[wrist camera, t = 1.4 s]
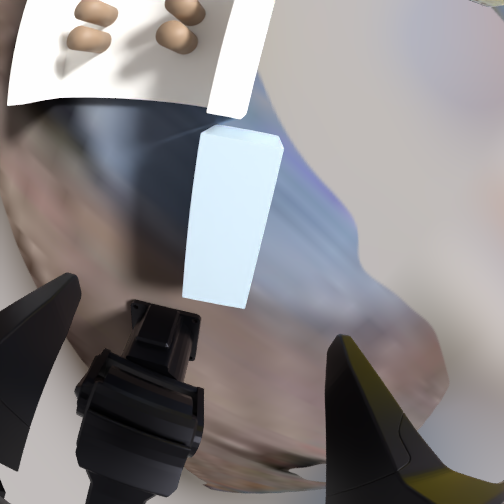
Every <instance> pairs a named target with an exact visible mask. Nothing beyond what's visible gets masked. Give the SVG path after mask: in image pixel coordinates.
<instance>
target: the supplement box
mask: <svg viewBox="0 0 504 504" xmlns="http://www.w3.org/2000/svg"><path fill="white" fill-rule="evenodd" d="M470 1H473V2H476V3H478V4H481V5H484V6H486V7H494V6H502V5H504V0H470Z"/></svg>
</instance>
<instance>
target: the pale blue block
mask: <svg viewBox="0 0 504 504" xmlns="http://www.w3.org/2000/svg"><path fill="white" fill-rule="evenodd" d="M283 151H284V148H283V145H282V143H281V141H280V139H279V136H276V135H271V134H267V133H262V132H257V131H252V130H247V129H241V128H236V127H230V126H224V125H217V124H216V125H214V126H212V127H211V128H209V129H207V130H205V131H204V132H202V133H201V135H200V141H199V148H198V154H197V161H196V168H195V175H194V183H193V190H192V198H191V207H190V215H189V225H188V234H187V244H186V255H185V267H184V280H183V294H182V297H184V298H189V299H194V300H199V301H204V302H210V303H215V304H220V305H226V306H231V307H237V308H243V309H245V306H246V302H247V298H248V294H249V290H250V286H251V282H252V278H253V274H254V270H255V266H256V262H257V258H258V254H259V250H260V245H261V241H262V237H263V233H264V229H265V225H266V221H267V217H268V213H269V209H270V205H271V200H272V196H273V192H274V188H275V184H276V180H277V176H278V171H279V167H280V163H281V159H282V155H283Z"/></svg>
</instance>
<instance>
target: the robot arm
mask: <svg viewBox="0 0 504 504" xmlns="http://www.w3.org/2000/svg"><path fill="white" fill-rule="evenodd" d="M80 299H81V289H80V284H79V280H78V277H77V276H76V275H74V274H71V273H65V274H63V275H61V276H59V277H57V278H56V279H54V280H52V281H50V282H49V283H47V284H45V285H43V286H42V287H40V288H38V289H36V290H35V291H33V292H31V293H29V294H28V295H26V296H24V297H23V298H21V299H19V300H18V301H16V302H14V303H13V304H11V305H9V306H8V307H6V308H5V309H3V310H1V311H0V463H1V464H3V465H5V466H7V467H9V468H11V469H13V470H15V471H18V469H19V465H20V461H21V457H22V453H23V450H24V446H25V443H26V439H27V436H28V433H29V429H30V426H31V422H32V420H33V417H34V413H35V411H36V408H37V405H38V402H39V399H40V397H41V394H42V391H43V389H44V386H45V384H46V381H47V379H48V376H49V374H50V371H51V369H52V367H53V364H54V362H55V360H56V358H57V355H58V353H59V350H60V349H61V346H62V344H63V342H64V340H65V338H66V336H67V333H68V331H69V328H70V325H71V322H72V320H73V317H74V314H75V312H76V309H77V307H78V304H79V301H80ZM136 305H137V306H136ZM131 315H132V327H133V331H132V334H131V336H130V338H129V340H128V343H127V345H126V347H125V350H124V352H123V354H122V357H120V356H118V355H116V354H114V353H112V352H111V351H110V350H108V349H106V348H105V349H104V350H103V352H102V354H101V355H100V354H99V355H98V356H95V358H94V360H93V362H92V364H91V367H90V368H89V370H88V372H87V373H86V374H85V376H84V377H83V378H82V379H81V381H80V382H79V383H78V384H77V386H76V388H75V391H74V392H75V394H76V397H77V399H78V400H77V412H76V413H77V415H79V416H81V417H83V420H82V423H81V427H80V431H79V434H78V438H77V448H76V457H77V461H78V464H79V466H80V467H82V468H84V469H86V472H87V474H88V477H89V479H90V482H91V483H90V486H89V490H88V495H87V499H86V503H85V504H145V503H146V501H148V500H149V499H151V498H153V497H154V496H156V495H159V496H163V497H168V496H170V495H171V494H172V493H173V492H174V491H175V490H176V489H177V487H178V483H179V479H180V476H181V472H182V470H183V467H184V464H185V462H186V459H187V457H192V456H193V455H194V454H195V453H196V451H197V449H198V447H199V444H200V441H201V438H202V434H203V428H204V389H203V388H200V387H194V386H192V385H189V384H186V383H184V378H185V374H186V370H187V365H188V361H194V360H195V357H196V350H197V343H198V336H199V329H200V323H201V317H200V316H199V315H197V314H193V313H189V312H184V311H180V310H176V309H171V308H167V307H163V306H159V305H155V304H151V303H147V302H143V301H139V300H133V301H132V303H131ZM194 319H196V320H194ZM325 416H326V504H504V481H502V482H500V483H497V484H496V483H490V482H486V481H483V480H480V479H477V478H473V477H470V476H467V475H464V474H461V473H458V472H455V471H453V470H451V469H450V468H448V467H447V466H446V465H444V464H443V463H442V462H441V460H440V459H439V458H438V457H437V455H436V454H435V453H434V452H433V451H432V449H431V448H430V447H429V446H428V444H426V442H425V441H424V439H423V438H422V437H421V436H420V434H419V433H418V432H417V430H416V429H415V428H414V426H413V425H412V423H411V422H410V421H409V419H408V418H407V416H406V415H405V413H403V410H402V409H401V407H400V406H399V405H398V403H397V402H396V400H395V399H394V397H393V396H392V394H391V393H390V391H389V390H388V389H387V387H386V386H385V384H384V383H383V381H382V380H381V378H380V377H379V376H378V374H377V373H376V371H375V370H374V369H373V367H372V366H371V364H370V363H369V361H368V360H367V359H366V357H365V356H364V354H363V353H362V352H361V350H360V349H359V347H358V346H357V345H356V343H355V342H354V340H353V339H352V338H351V337H350V336H349V335H343V334H339V335H337V336H336V338H335V339H334V341H333V342H332V344H331V345H330V347H329V348H328V351H327V363H326V380H325ZM5 493H6V492H5V490H4V488H3V485H2V483H1V480H0V504H10V503H9V502H7V501H6V500H5V499H4V496H5Z"/></svg>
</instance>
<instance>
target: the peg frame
mask: <svg viewBox="0 0 504 504" xmlns="http://www.w3.org/2000/svg"><path fill="white" fill-rule="evenodd" d="M275 1H276V0H27V4H26V7H25V10H24V13H23V17H22V20H21V24H20V28H19V32H18V36H17V41H16V45H15V50H14V55H13V61H12V67H11V74H10V81H9V90H8V100H7V106H11V105H22V104H27V103H32V102H37V101H43V100H49V99H55V98H71V97H97V98H124V99H140V100H152V101H162V102H171V103H179V104H187V105H194V106H201V107H207V113H209V114H215V115H221V116H226V117H232V118H237V119H241V118H242V117H243V116H245V115H246V113H247V109H248V104H249V100H250V96H251V92H252V88H253V84H254V80H255V76H256V72H257V68H258V64H259V60H260V56H261V52H262V49H263V45H264V40H265V37H266V33H267V30H268V26H269V22H270V19H271V15H272V11H273V8H274V5H275Z"/></svg>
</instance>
